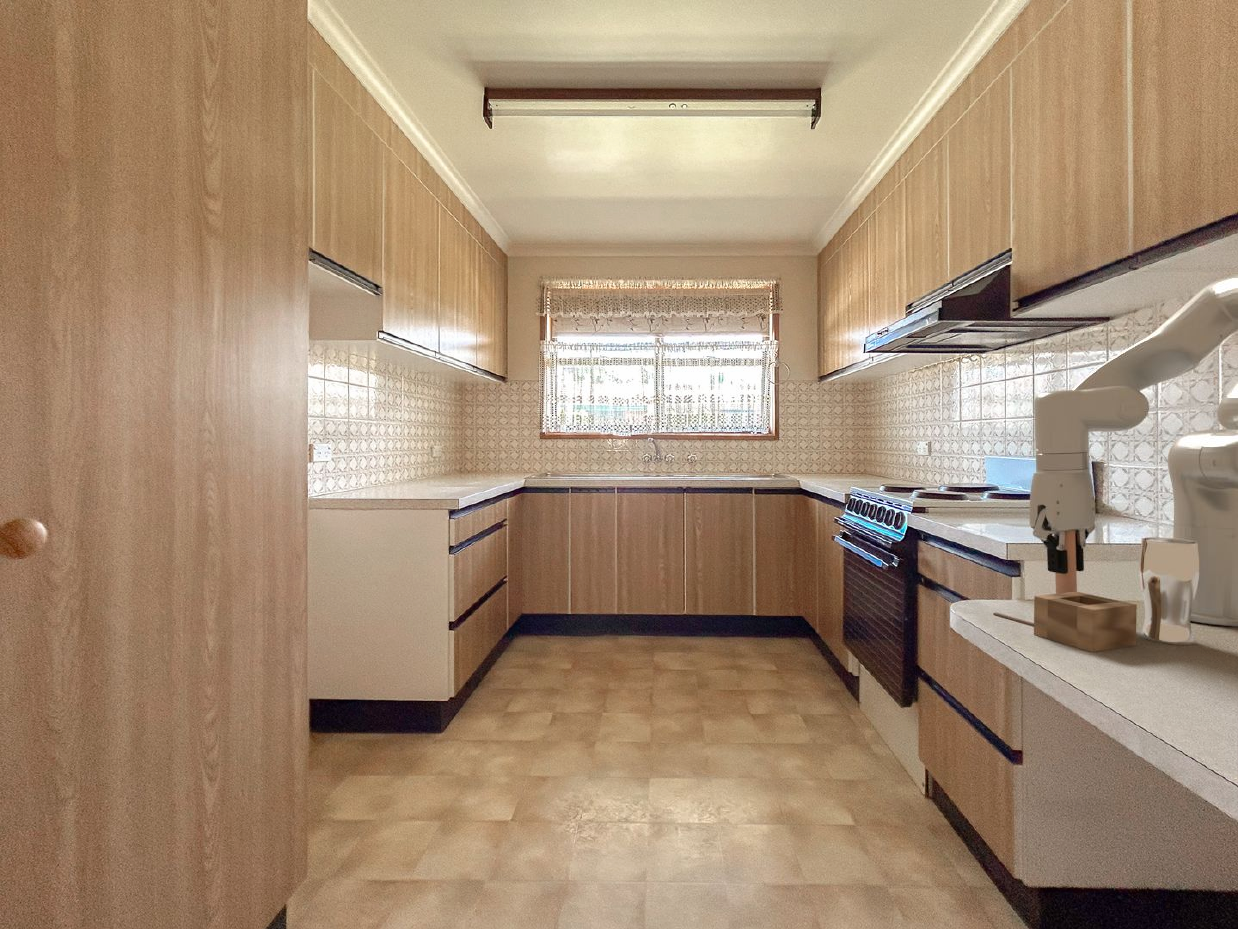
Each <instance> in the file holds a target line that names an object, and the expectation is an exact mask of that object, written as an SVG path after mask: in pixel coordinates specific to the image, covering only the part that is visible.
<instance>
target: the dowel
mask: <svg viewBox="0 0 1238 929" xmlns="http://www.w3.org/2000/svg"><path fill="white" fill-rule="evenodd" d="M1053 536H1054V537H1055V538H1057V535H1055V534H1053ZM1063 550H1067V557H1068V573H1067V574H1061V573H1055V572H1054V573H1055V574H1054V575H1055V594H1059V593H1068V592H1078V582H1077V581H1078V580H1077V579H1078V578H1077V576H1078V574H1077V571H1076V542H1075V530H1073V531H1065V541H1064V549H1063Z"/></svg>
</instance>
